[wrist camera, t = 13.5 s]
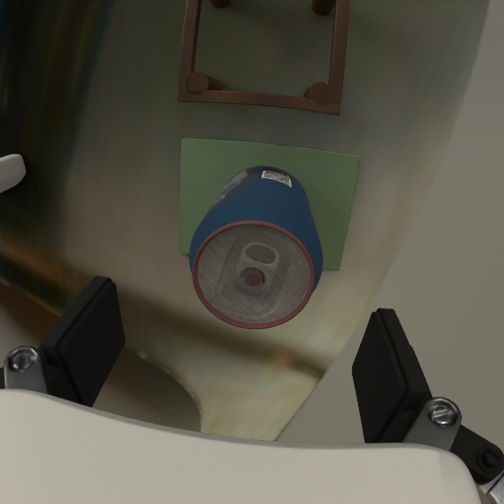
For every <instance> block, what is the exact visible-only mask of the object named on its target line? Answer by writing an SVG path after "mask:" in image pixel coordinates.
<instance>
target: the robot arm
mask: <svg viewBox="0 0 504 504" xmlns="http://www.w3.org/2000/svg"><path fill="white" fill-rule="evenodd" d="M124 344H125V334H124V329H123V324H122V319H121V313H120V308H119V302H118V296H117V289H116V284H115V283H114V282H112V280H111V279H110V278H107V277H101V276H95V277H94V278H93V279H92V281H91V282H90V283H89V284H88V285H87V286H86V287H85V289H84V290H83V291H82V292H81V293H80V294H79V295H78V297H77V298H76V299H75V300H74V301H73V303H72V304H71V305H70V306H69V307H68V308H67V310H66V311H65V312H64V313H63V314H62V316H61V317H60V318H59V319H58V321H57V322H56V323H55V324H54V326H53V327H52V328H51V329H50V331H49V332H48V333H47V334H46V336H45V337H44V338H43V340H42V341H41V342H40V346H39V347H38V349H36V348H33V347H32V346H20V347H17V348H15V349H13V350H12V351H10V352H9V353H8V354H7V356H6V358H5V360H4V367H3V368H0V504H504V455H503V452H502V451H501V450H500V449H499V448H498V447H497V446H496V445H494V444H493V443H491V442H489V441H488V440H486V439H484V438H482V437H481V436H479V435H477V434H476V433H474V432H473V431H471V430H469V429H468V428H466V427H464V426H463V425H461V419H462V416H461V412H460V410H459V408H458V406H457V405H456V404H455V403H453V402H452V401H451V400H449V399H447V398H444V397H435V398H433V397H432V395H431V392H430V389H429V387H428V384H427V382H426V379H425V377H424V374H423V372H422V369H421V367H420V364H419V362H418V359H417V357H416V355H415V352H414V350H413V348H412V347H411V346H410V344H409V342H408V340H407V338H406V335H405V333H404V330H403V328H402V326H401V324H400V322H399V319H398V317H397V315H396V313H395V311H394V310H393V309H384V308H378V309H377V311H376V312H372V314H371V316H370V320H369V322H368V325H367V328H366V331H365V334H364V336H363V339H362V342H361V344H360V347H359V350H358V352H357V355H356V357H355V360H354V363H353V366H352V376H353V381H354V386H355V390H356V396H357V401H358V406H359V411H360V417H361V423H362V429H363V434H364V440H365V443H362V444H321V443H320V444H319V443H292V442H276V441H263V440H253V439H243V438H234V437H226V436H219V435H212V434H205V433H199V432H193V431H187V430H182V429H176V428H171V427H166V426H161V425H157V424H152V423H148V422H143V421H139V420H135V419H131V418H127V417H123V416H119V415H115V414H112V413H108V412H105V411H101V410H98V409H94V408H92V406H93V404H94V402H95V400H96V398H97V396H98V394H99V392H100V390H101V388H102V386H103V384H104V382H105V381H106V379H107V377H108V375H109V373H110V371H111V369H112V367H113V365H114V363H115V362H116V360H117V358H118V356H119V354H120V352H121V350H122V349H123V347H124Z"/></svg>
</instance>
